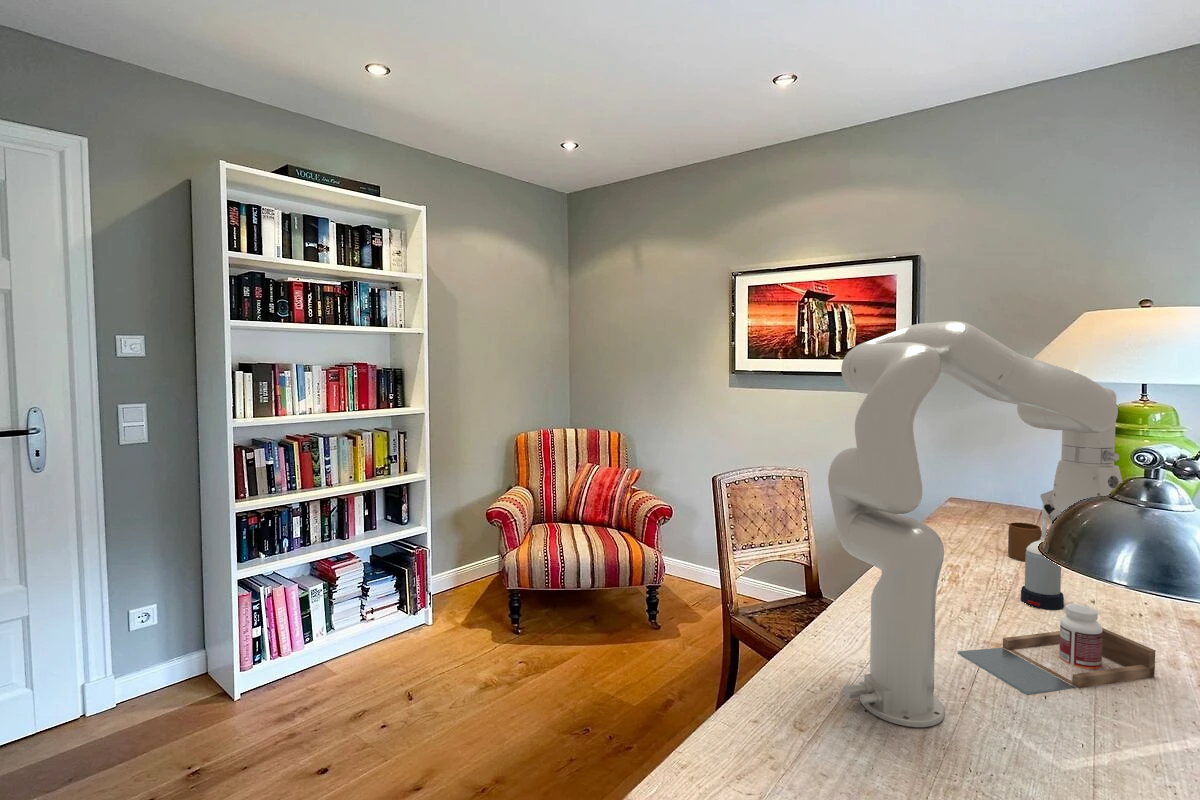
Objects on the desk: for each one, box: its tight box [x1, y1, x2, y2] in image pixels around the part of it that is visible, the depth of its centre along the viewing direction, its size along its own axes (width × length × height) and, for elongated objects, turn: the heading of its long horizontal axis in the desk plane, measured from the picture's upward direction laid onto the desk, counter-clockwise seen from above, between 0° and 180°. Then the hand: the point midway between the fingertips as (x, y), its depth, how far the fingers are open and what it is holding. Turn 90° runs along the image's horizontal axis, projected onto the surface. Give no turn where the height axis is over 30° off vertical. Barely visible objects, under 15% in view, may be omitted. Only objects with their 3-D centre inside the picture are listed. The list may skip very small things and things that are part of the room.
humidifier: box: [1020, 503, 1065, 611], centre depth 142 cm, size 8×8×25 cm
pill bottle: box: [1058, 603, 1103, 670], centre depth 114 cm, size 6×6×11 cm
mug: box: [1007, 521, 1049, 562], centre depth 173 cm, size 12×8×9 cm, turn 54°
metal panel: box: [957, 647, 1077, 696], centre depth 111 cm, size 1×15×10 cm
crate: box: [1002, 627, 1157, 689], centre depth 114 cm, size 16×15×6 cm
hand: (1083, 548), depth 113 cm, fingers open, 9 cm apart
